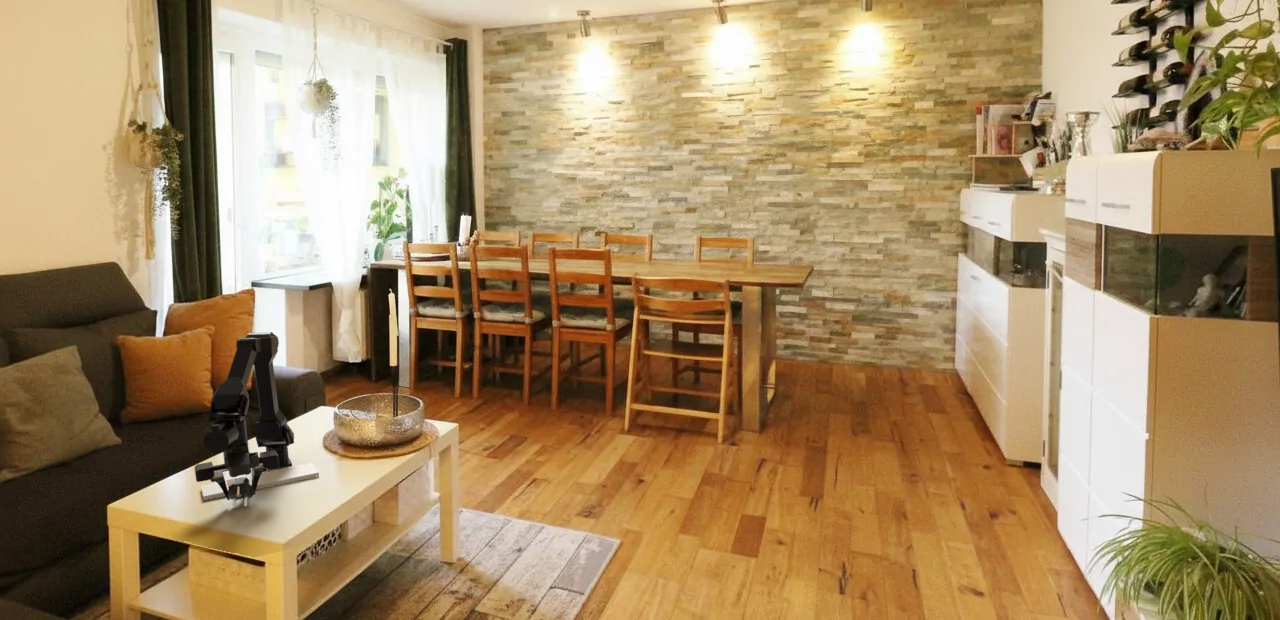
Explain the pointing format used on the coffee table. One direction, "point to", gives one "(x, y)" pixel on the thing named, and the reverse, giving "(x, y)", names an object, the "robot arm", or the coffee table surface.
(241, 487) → the power plug
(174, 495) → the coffee table surface
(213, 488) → the board
